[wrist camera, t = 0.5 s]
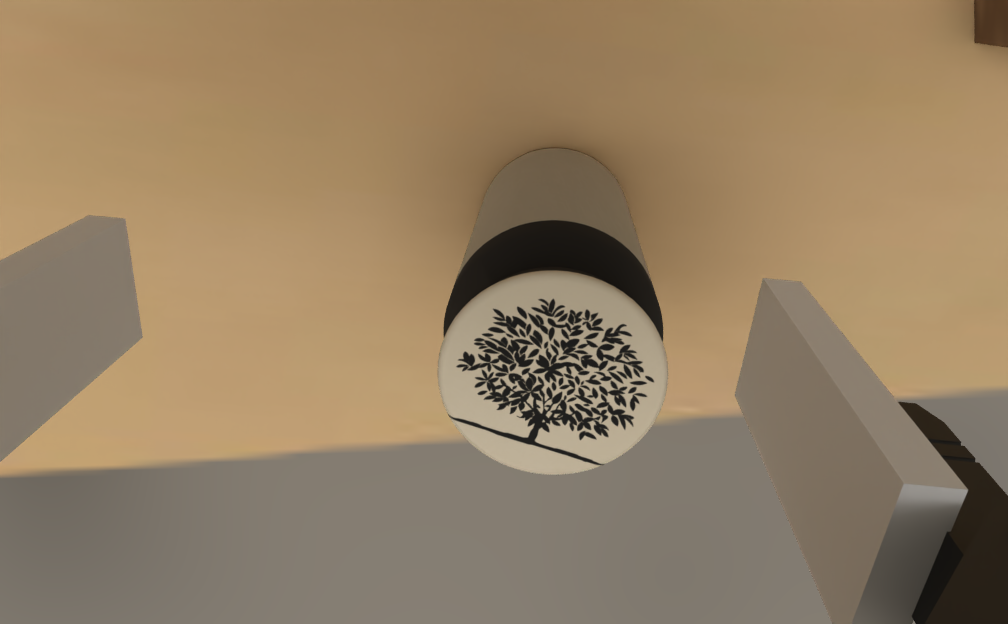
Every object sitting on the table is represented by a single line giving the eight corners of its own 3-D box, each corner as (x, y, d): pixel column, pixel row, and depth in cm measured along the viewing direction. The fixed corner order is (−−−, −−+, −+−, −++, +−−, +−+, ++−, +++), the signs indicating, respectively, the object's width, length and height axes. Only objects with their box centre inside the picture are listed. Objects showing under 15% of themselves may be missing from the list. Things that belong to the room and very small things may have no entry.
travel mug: (521, 119, 38) (495, 222, 22) (655, 189, 39) (726, 336, 23) (457, 249, 41) (391, 424, 25) (582, 310, 42) (598, 517, 26)
